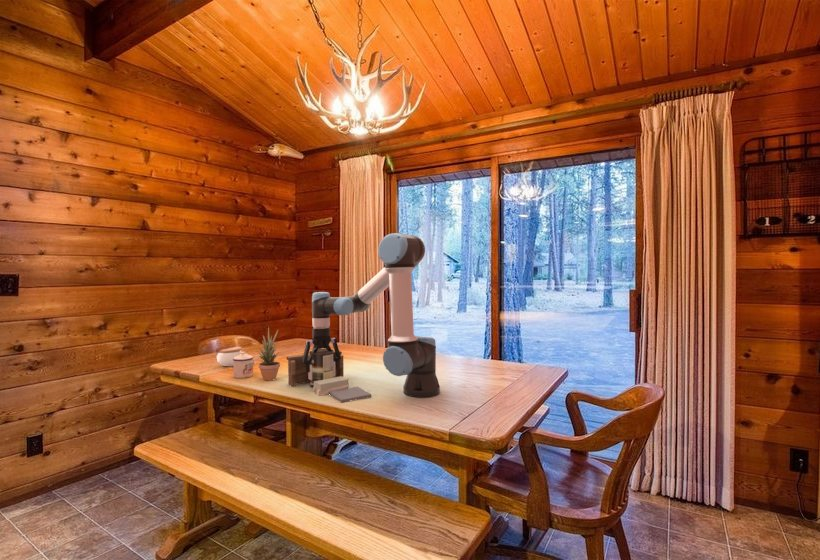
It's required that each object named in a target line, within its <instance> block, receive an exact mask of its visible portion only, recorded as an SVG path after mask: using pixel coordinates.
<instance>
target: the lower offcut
mask: <svg viewBox="0 0 820 560" xmlns="http://www.w3.org/2000/svg"><path fill="white" fill-rule="evenodd" d="M347 388H349V384H348V385H346V386H341V387H336V388H331V389H326V390H321V391H320V390H318V389H316V388H314V386H313V388H312V392H313V393H314V392H315V394H316V395H317V394H318V396H323V395H322V394H324V395H329V394H328V393H329V391H335V390H341V389H347Z"/></svg>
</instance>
